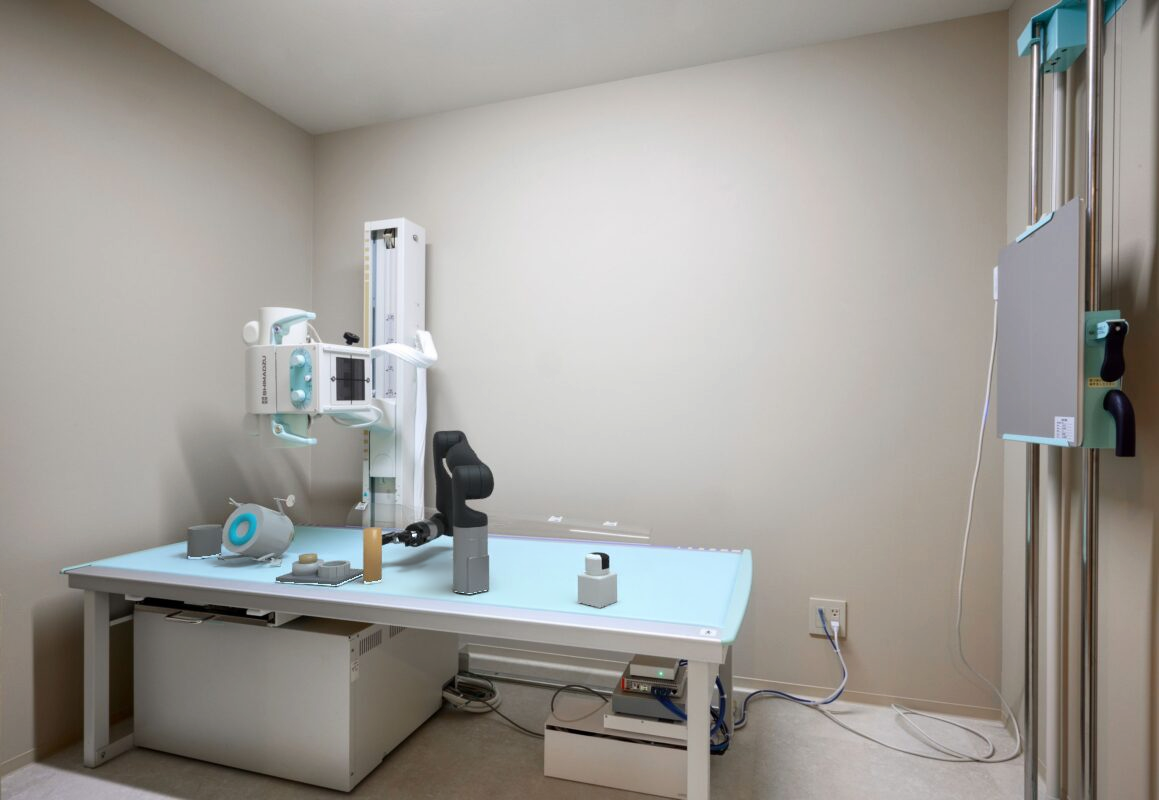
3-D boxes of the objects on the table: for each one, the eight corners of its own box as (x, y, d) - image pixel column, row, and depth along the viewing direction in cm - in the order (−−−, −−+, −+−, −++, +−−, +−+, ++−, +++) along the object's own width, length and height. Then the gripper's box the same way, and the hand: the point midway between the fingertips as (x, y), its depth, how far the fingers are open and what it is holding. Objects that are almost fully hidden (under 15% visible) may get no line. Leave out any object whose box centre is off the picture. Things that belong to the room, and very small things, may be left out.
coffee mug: (200, 560, 198) (201, 530, 198) (180, 558, 202) (180, 528, 202) (236, 552, 211) (237, 523, 211) (216, 550, 214) (217, 522, 215)
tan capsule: (384, 582, 169) (384, 528, 169) (366, 585, 165) (367, 530, 166) (377, 578, 172) (377, 526, 173) (360, 581, 169) (360, 528, 170)
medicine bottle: (595, 596, 153) (594, 549, 153) (617, 601, 148) (617, 553, 149) (577, 603, 147) (577, 554, 148) (600, 608, 143) (599, 558, 143)
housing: (367, 574, 177) (367, 552, 178) (336, 587, 164) (336, 563, 164) (310, 570, 182) (310, 549, 183) (275, 582, 169) (276, 559, 169)
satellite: (319, 504, 207) (261, 508, 214) (277, 488, 190) (216, 492, 197) (304, 571, 197) (244, 573, 205) (258, 560, 180) (195, 562, 188)
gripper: (401, 520, 197) (372, 529, 181) (440, 522, 193) (414, 531, 178) (401, 543, 197) (372, 554, 181) (440, 545, 193) (414, 556, 177)
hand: (393, 542), depth 179 cm, fingers open, 8 cm apart
